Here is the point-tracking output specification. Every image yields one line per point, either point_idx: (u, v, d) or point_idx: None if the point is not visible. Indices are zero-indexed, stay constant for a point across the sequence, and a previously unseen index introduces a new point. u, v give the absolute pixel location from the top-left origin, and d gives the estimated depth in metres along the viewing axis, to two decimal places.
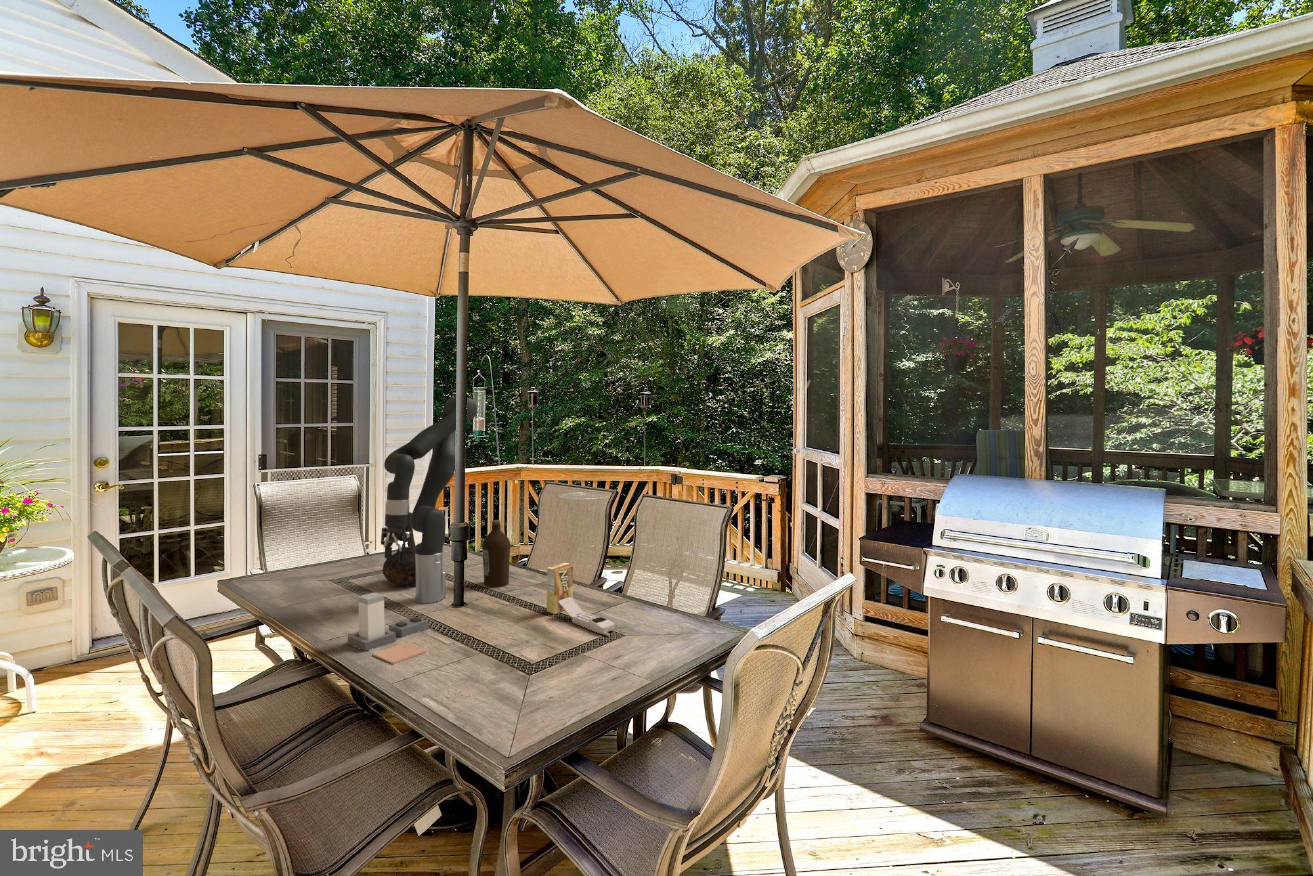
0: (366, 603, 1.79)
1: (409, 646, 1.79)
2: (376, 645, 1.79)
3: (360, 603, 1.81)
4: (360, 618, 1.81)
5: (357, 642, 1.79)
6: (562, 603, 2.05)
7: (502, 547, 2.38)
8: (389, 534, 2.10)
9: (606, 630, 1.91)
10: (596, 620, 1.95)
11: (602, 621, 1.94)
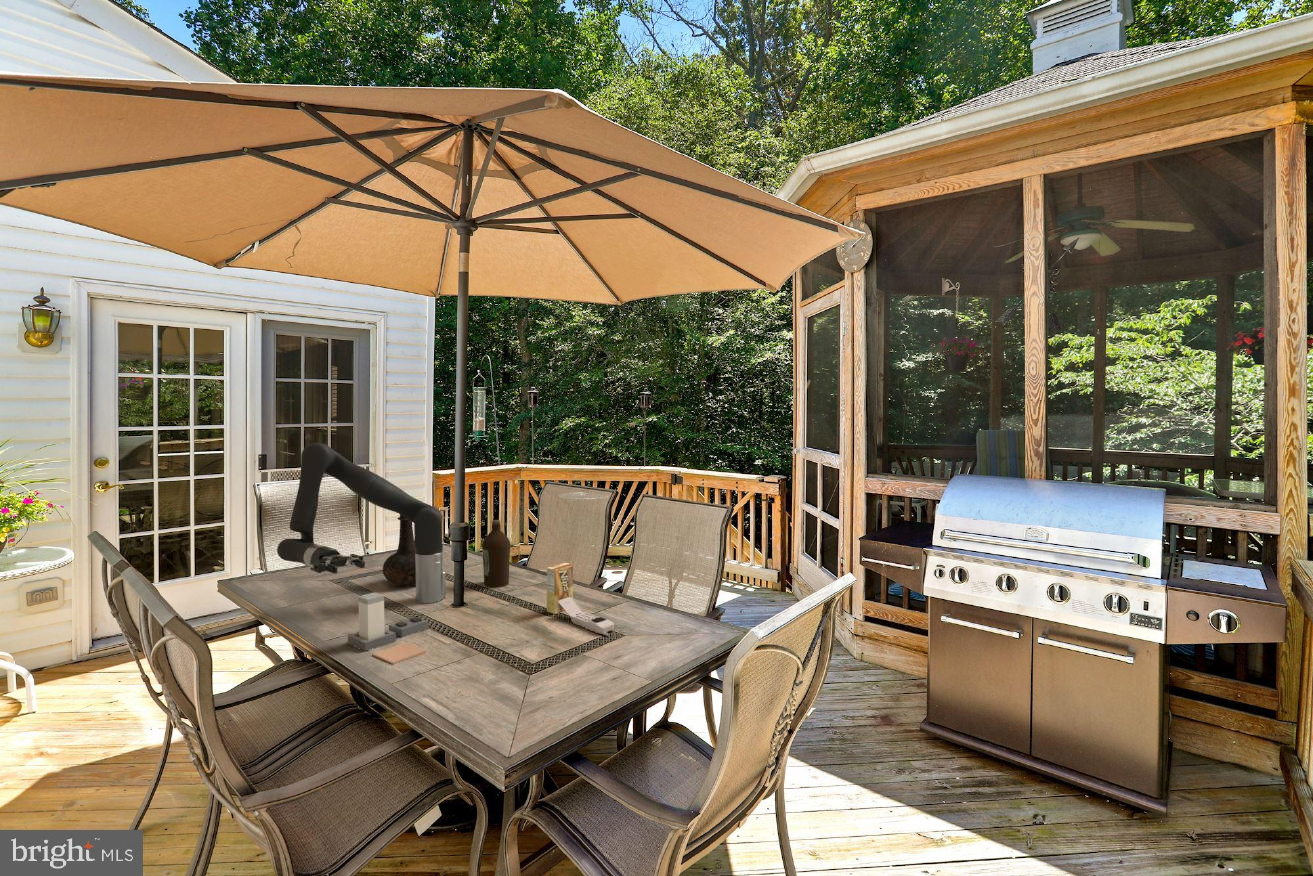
0: (366, 603, 1.79)
1: (409, 646, 1.79)
2: (376, 645, 1.79)
3: (360, 603, 1.81)
4: (360, 618, 1.81)
5: (357, 642, 1.79)
6: (562, 603, 2.05)
7: (502, 547, 2.38)
8: (337, 567, 1.94)
9: (606, 630, 1.91)
10: (596, 620, 1.95)
11: (602, 621, 1.94)
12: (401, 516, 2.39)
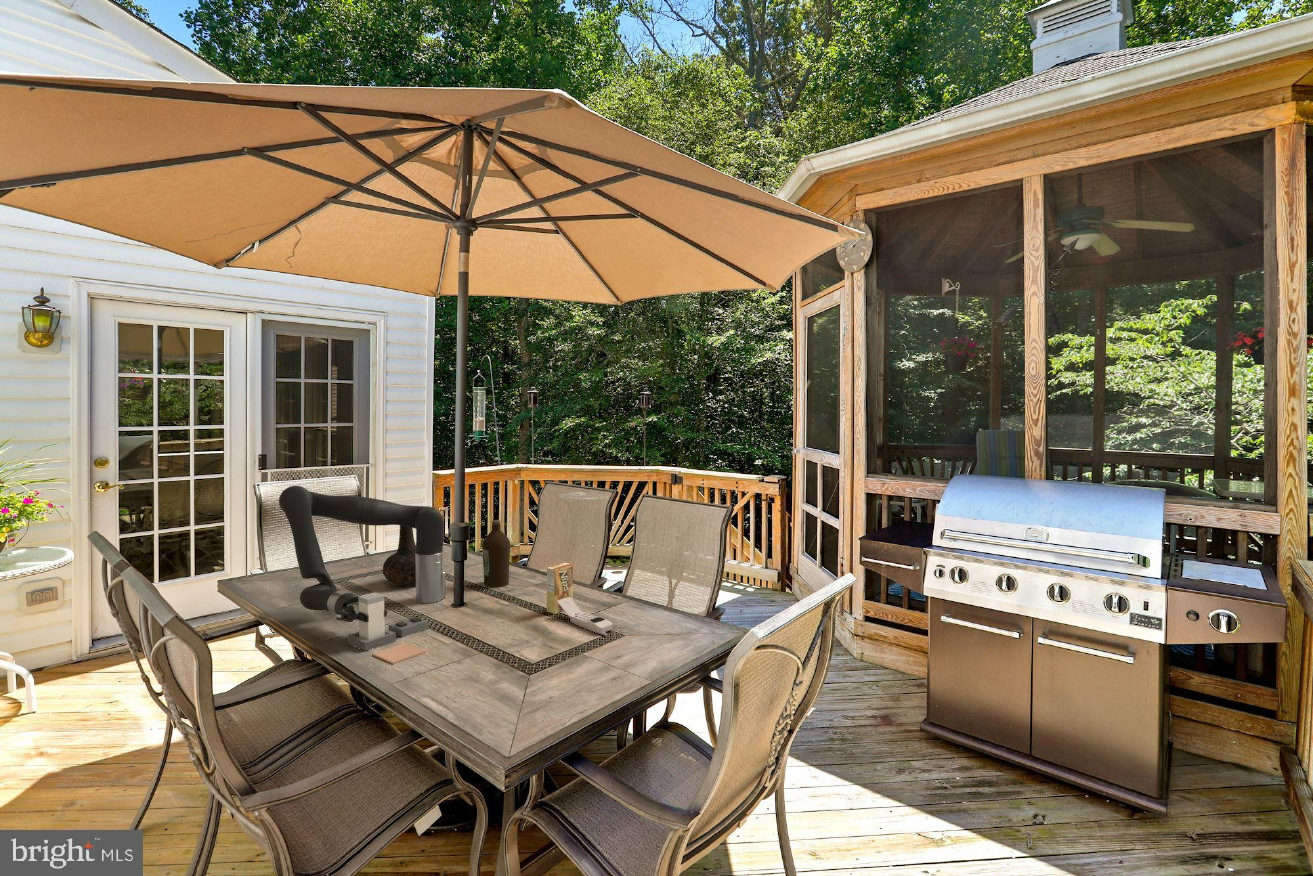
0: (366, 603, 1.79)
1: (409, 646, 1.79)
2: (376, 645, 1.79)
3: (360, 603, 1.81)
4: None
5: (357, 642, 1.79)
6: (561, 603, 2.05)
7: (502, 547, 2.38)
8: None
9: (604, 630, 1.91)
10: (594, 620, 1.95)
11: (600, 621, 1.94)
12: None
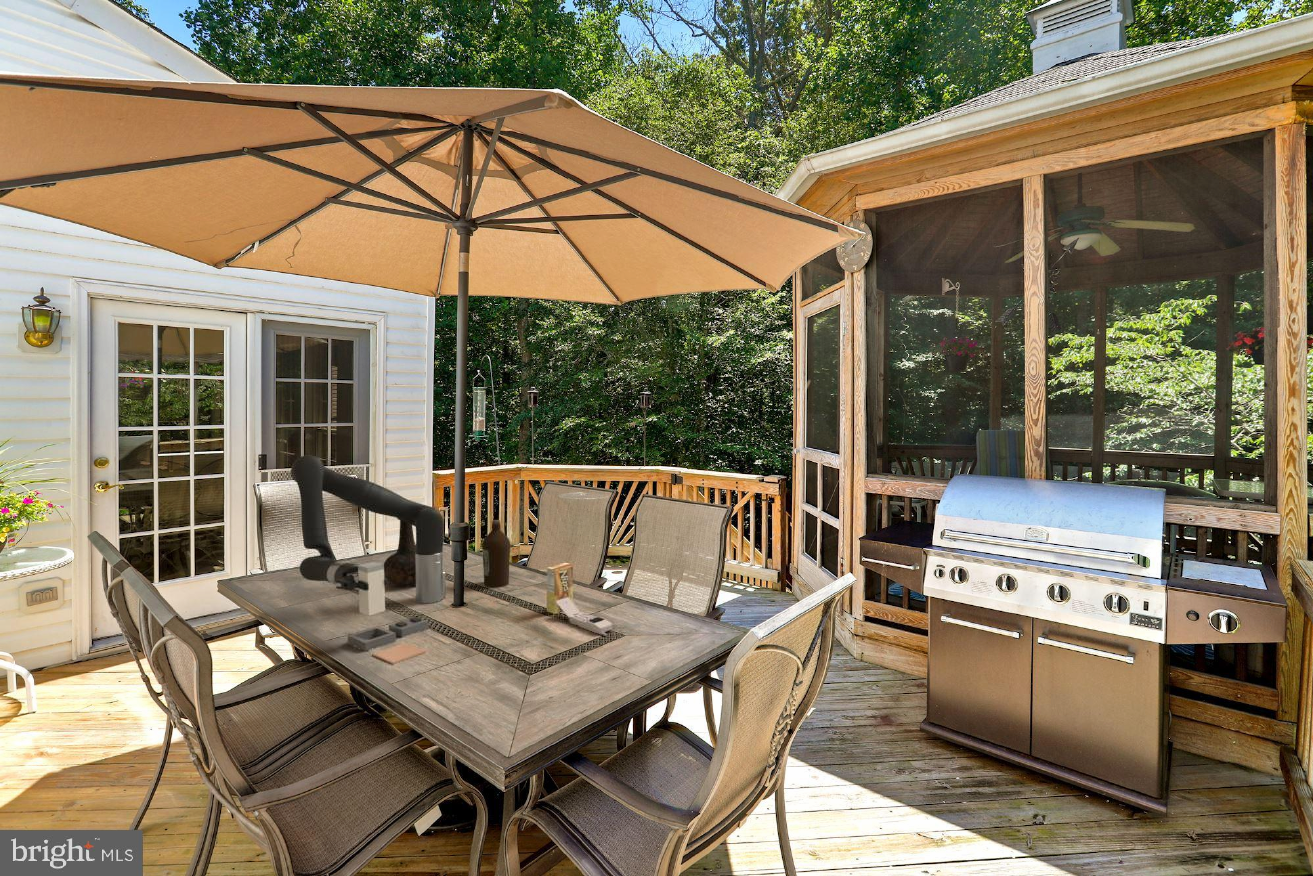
0: (366, 571, 1.79)
1: (409, 646, 1.79)
2: (376, 645, 1.79)
3: (360, 572, 1.81)
4: None
5: (357, 642, 1.79)
6: (559, 603, 2.05)
7: (502, 547, 2.38)
8: None
9: (604, 630, 1.91)
10: (593, 620, 1.95)
11: (599, 621, 1.94)
12: None
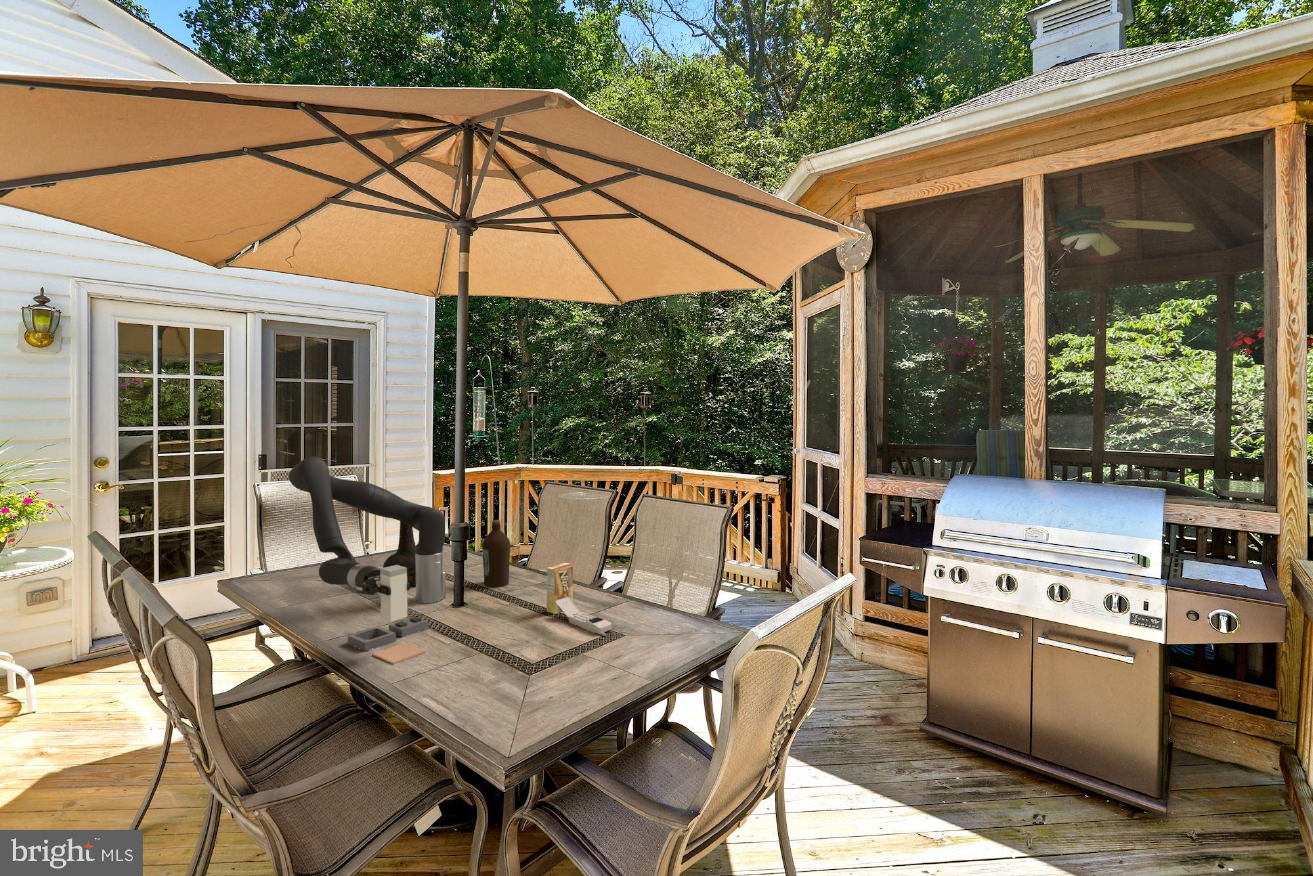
0: (388, 575, 1.71)
1: (409, 646, 1.79)
2: (376, 645, 1.79)
3: (382, 575, 1.73)
4: None
5: (357, 642, 1.79)
6: (559, 603, 2.05)
7: (502, 547, 2.38)
8: None
9: (603, 630, 1.91)
10: (593, 620, 1.95)
11: (599, 621, 1.94)
12: None
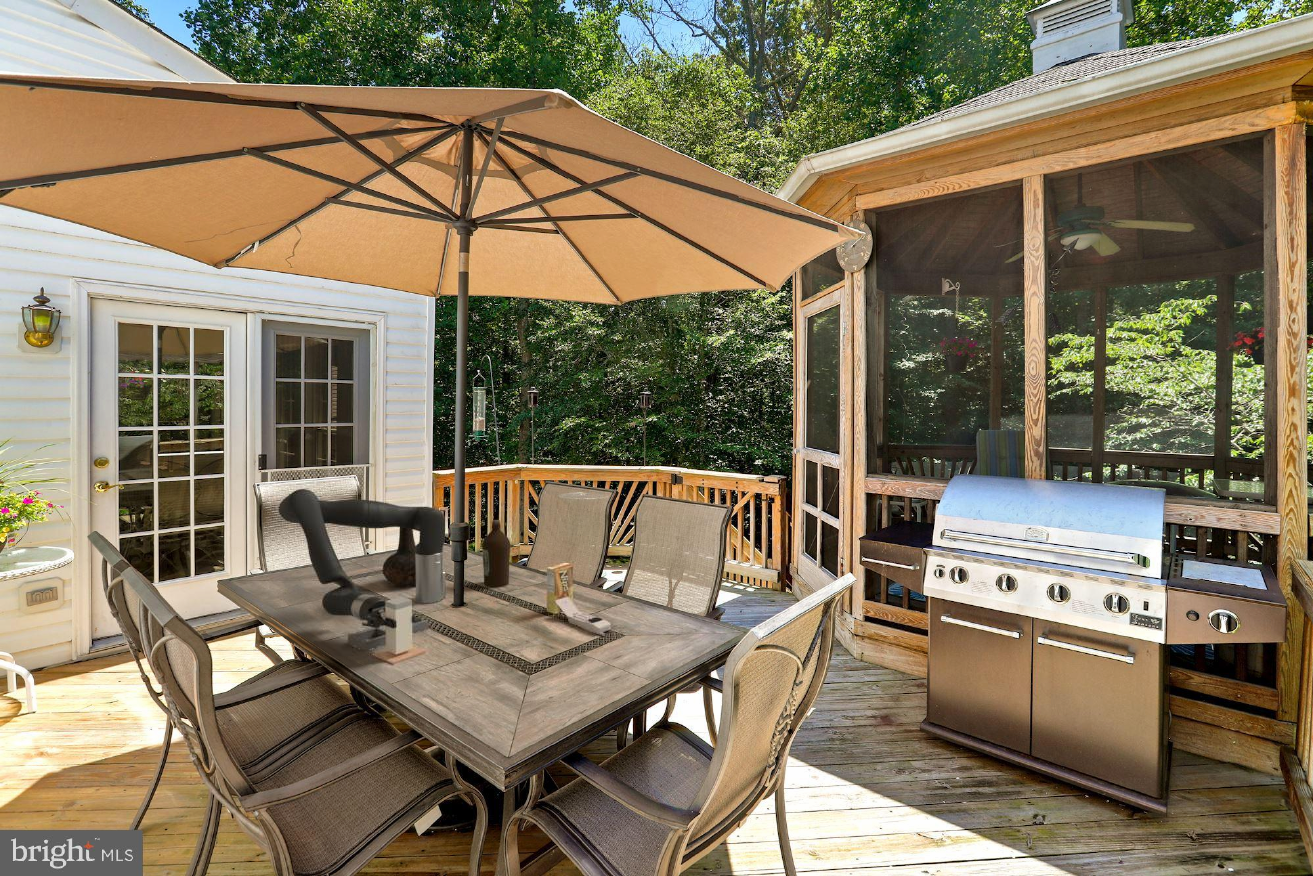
0: (394, 608, 1.71)
1: None
2: (376, 645, 1.79)
3: (387, 608, 1.73)
4: None
5: (357, 642, 1.79)
6: (559, 603, 2.05)
7: (502, 547, 2.38)
8: None
9: (602, 630, 1.91)
10: (592, 620, 1.95)
11: (598, 621, 1.94)
12: None
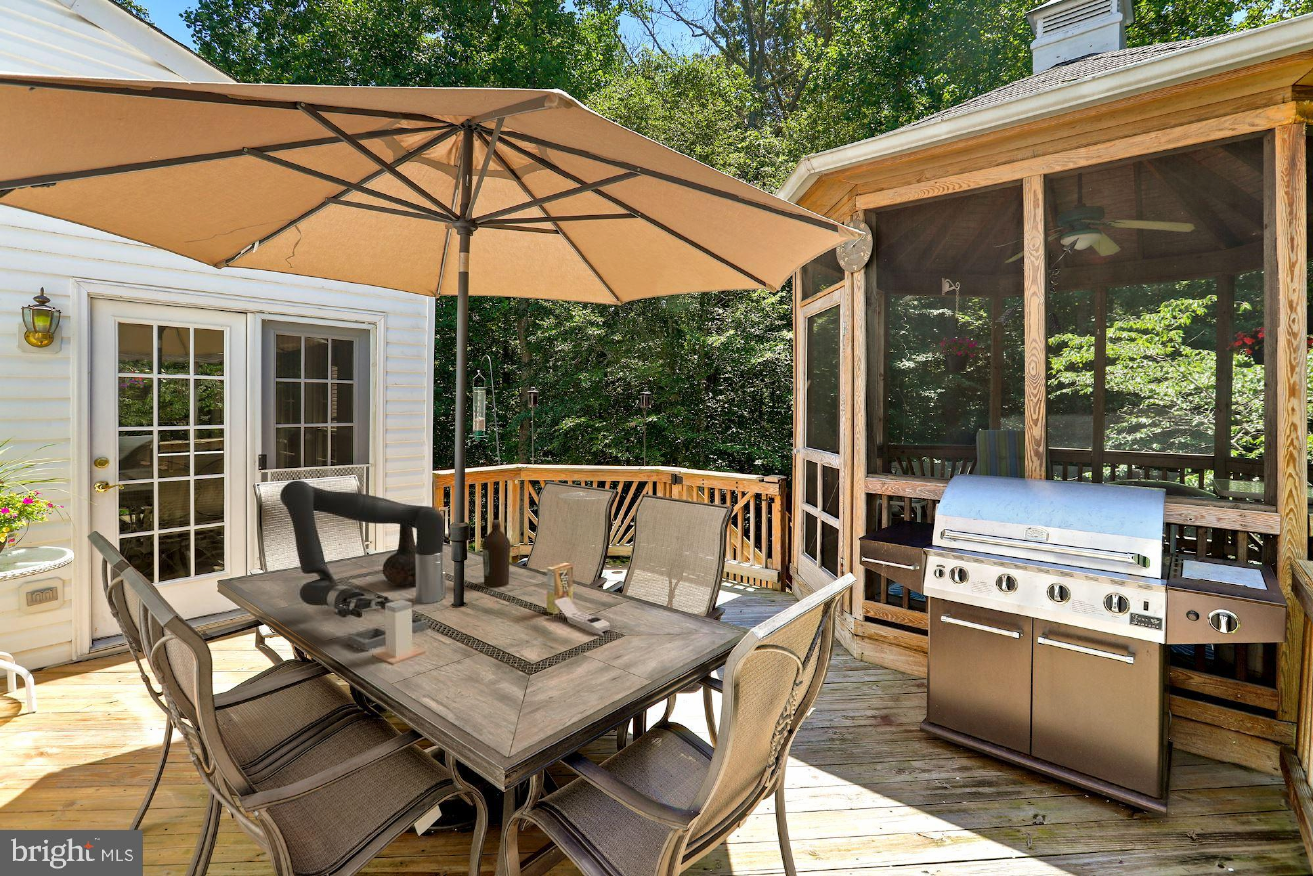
0: (393, 611, 1.71)
1: None
2: (376, 645, 1.79)
3: (387, 611, 1.73)
4: (387, 627, 1.73)
5: (357, 642, 1.79)
6: (558, 603, 2.05)
7: (502, 547, 2.38)
8: None
9: (601, 630, 1.91)
10: (591, 620, 1.95)
11: (597, 621, 1.94)
12: None
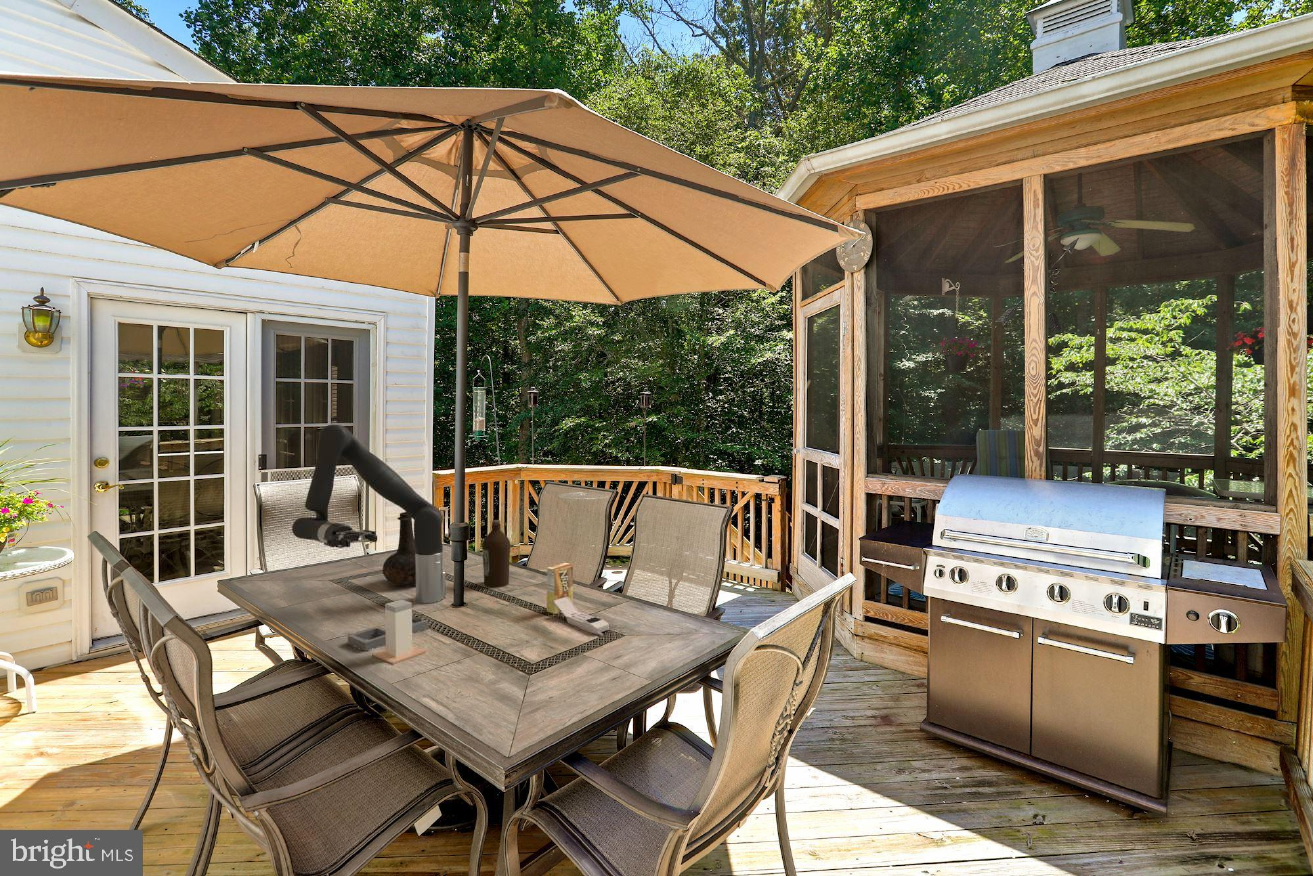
0: (393, 611, 1.71)
1: None
2: (376, 645, 1.79)
3: (387, 611, 1.73)
4: (387, 627, 1.73)
5: (357, 642, 1.79)
6: (557, 603, 2.05)
7: (502, 547, 2.38)
8: None
9: (600, 630, 1.91)
10: (590, 620, 1.95)
11: (596, 621, 1.94)
12: (401, 516, 2.39)
